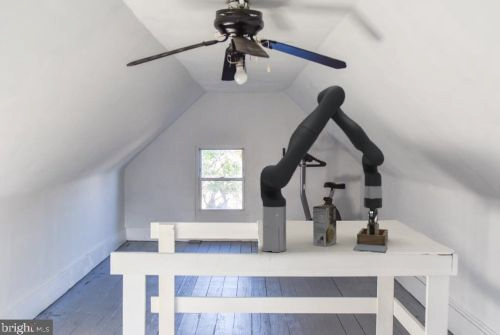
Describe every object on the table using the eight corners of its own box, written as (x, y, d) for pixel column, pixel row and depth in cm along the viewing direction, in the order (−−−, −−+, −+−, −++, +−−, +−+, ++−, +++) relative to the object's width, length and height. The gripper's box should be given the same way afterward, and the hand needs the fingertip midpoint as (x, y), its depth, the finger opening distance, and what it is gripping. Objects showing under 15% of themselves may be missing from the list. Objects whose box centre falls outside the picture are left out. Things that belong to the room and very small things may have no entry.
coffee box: (323, 241, 187) (323, 204, 186) (336, 243, 183) (336, 205, 182) (312, 244, 180) (312, 206, 179) (326, 246, 176) (326, 207, 175)
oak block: (377, 243, 182) (377, 224, 182) (366, 243, 183) (367, 224, 183) (378, 241, 186) (378, 223, 186) (368, 241, 188) (368, 222, 187)
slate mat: (385, 253, 163) (385, 251, 163) (353, 250, 168) (353, 249, 168) (387, 247, 173) (387, 246, 173) (356, 245, 178) (356, 244, 178)
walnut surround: (384, 247, 174) (384, 236, 174) (357, 245, 178) (357, 234, 178) (387, 239, 191) (387, 229, 191) (362, 238, 195) (362, 228, 195)
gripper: (365, 195, 192) (366, 231, 193) (362, 197, 179) (362, 236, 179) (383, 195, 190) (383, 232, 190) (380, 198, 176) (380, 237, 177)
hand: (373, 234), depth 185 cm, fingers open, 8 cm apart
